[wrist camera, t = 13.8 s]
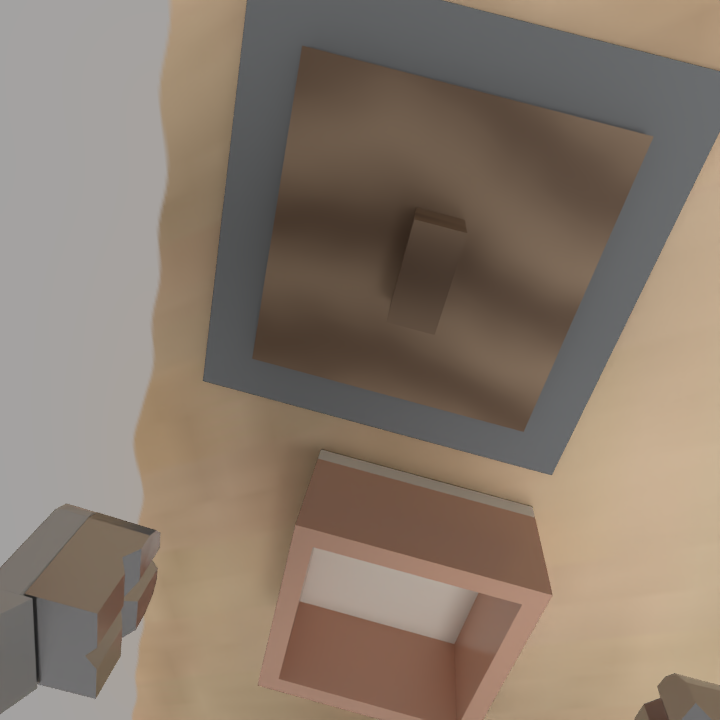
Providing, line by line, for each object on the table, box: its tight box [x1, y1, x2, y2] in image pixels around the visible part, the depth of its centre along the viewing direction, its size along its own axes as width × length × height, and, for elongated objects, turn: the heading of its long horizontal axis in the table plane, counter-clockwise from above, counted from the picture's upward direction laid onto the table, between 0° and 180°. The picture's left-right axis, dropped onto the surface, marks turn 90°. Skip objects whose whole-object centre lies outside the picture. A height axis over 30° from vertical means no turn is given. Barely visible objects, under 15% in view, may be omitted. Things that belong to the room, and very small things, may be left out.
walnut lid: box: [252, 46, 654, 432], centre depth 27 cm, size 16×16×4 cm
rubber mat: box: [203, 0, 720, 475], centre depth 29 cm, size 22×22×1 cm
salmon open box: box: [258, 450, 552, 720], centre depth 35 cm, size 14×14×7 cm
